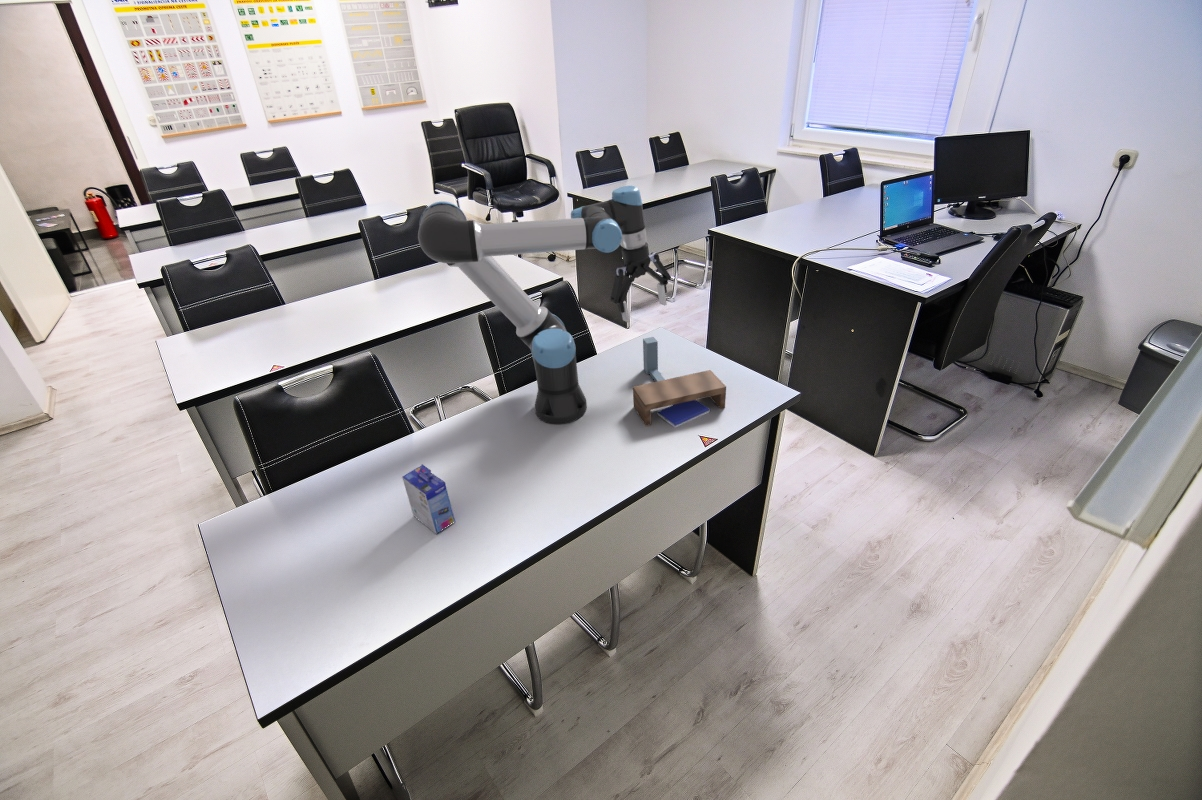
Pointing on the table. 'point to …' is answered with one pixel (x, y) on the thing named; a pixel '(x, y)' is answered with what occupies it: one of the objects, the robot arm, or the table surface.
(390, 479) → the table surface
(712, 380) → the bench
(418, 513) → the ink cartridge box
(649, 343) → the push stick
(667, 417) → the blue flat slab
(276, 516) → the table surface
